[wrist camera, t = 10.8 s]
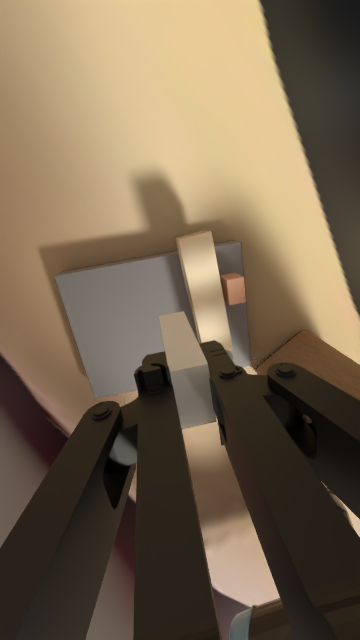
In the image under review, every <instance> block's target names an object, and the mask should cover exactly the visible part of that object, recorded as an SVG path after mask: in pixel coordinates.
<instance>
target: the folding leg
mask: <svg viewBox="0 0 360 640" xmlns="http://www.w3.org/2000/svg"><path fill="white" fill-rule="evenodd" d="M175 242H176V246H177V251H178V255H179V259H180V263H181V268H182V272H183V276H184V281H185V285H186V289H187V294H188V298H189V302H190V307H191V311H192V315H193V320H194V324H195V328H196V332H197V337H198V341H199V343H203V342H208V341H213V340H215V341H217V342H219V343H221V344H222V346H223V347H224V349H225V350H226V352H227V353H228V355H229V356H230V358H231V360H232V361H233V355H232V353H231V352H230V351H231V350H233V347H232V341H231V336H230V330H229V325H228V319H227V314H226V308H225V303H224V298H223V292H222V287H221V281H220V276H219V270H218V265H217V259H216V254H215V248H214V243H213V238H212V232H211V231H207V230H203V231H199V232H195V233H191V234H187V235H183V236H179V237H175Z"/></svg>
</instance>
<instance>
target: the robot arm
mask: <svg viewBox="0 0 360 640" xmlns="http://www.w3.org/2000/svg"><path fill="white" fill-rule="evenodd" d="M159 319H160V324H161V330H162V336H163V342H164V347H165V351H164V352H159V353H154V354H149V355H146V356H145V357H144V359H143V360H142V366H140V367H139V368H137V369H136V370H135V372H134V378H135V382H136V385H137V389H138V397H137V398H136V399H135V400H134V401H132V402H131V403H129V404H127V405H124V406H122V407H120V406H119V404H118V403H116V402H114V401H106V402H101V403H99V404H96V405H94V406H93V407H91V408H90V409H88V410H87V412H86V413H85V414H84V415H83V417H82V418H81V420H80V422H79V423H78V425H77V426H76V428H75V430H74V431H73V433H72V434H71V436H70V438H69V439H68V441H67V443H66V444H65V446H64V447H63V449H62V450H61V452H60V454H59V455H58V457H57V459H56V460H55V462H54V463H53V465H52V466H51V468H50V470H49V471H48V473H47V474H46V476H45V478H44V479H43V481H42V482H41V484H40V486H39V487H38V489H37V490H36V492H35V494H34V495H33V497H32V499H31V500H30V502H29V503H28V505H27V506H26V508H25V510H24V511H23V513H22V514H21V516H20V518H19V519H18V521H17V523H16V524H15V526H14V527H13V529H12V530H11V532H10V533H9V535H8V537H7V538H6V540H5V541H4V543H3V545H2V547H1V548H0V640H85V639H86V635H87V631H88V628H89V625H90V621H91V618H92V615H93V611H94V608H95V604H96V601H97V597H98V594H99V591H100V587H101V584H102V581H103V577H104V574H105V571H106V567H107V564H108V560H109V557H110V554H111V550H112V547H113V543H114V540H115V537H116V533H117V530H118V527H119V523H120V520H121V516H122V513H123V509H124V506H125V503H126V499H127V496H128V493H129V489H130V486H131V482H132V479H133V476H134V472H135V469H136V462H137V490H136V539H135V540H136V541H135V544H136V545H135V590H134V638H133V640H222V636H221V631H220V626H219V621H218V616H217V610H216V605H215V600H214V595H213V590H212V584H211V579H210V574H209V569H208V563H207V558H206V553H205V548H204V543H203V537H202V532H201V527H200V522H199V517H198V511H197V506H196V501H195V496H194V491H193V486H192V480H191V475H190V470H189V465H188V460H187V454H186V449H185V444H184V439H183V434H182V429H185V428H190V427H194V426H199V425H203V424H207V423H212V422H216V416H217V419H218V425H219V432H220V439H221V445H225V447H226V450H227V453H228V456H229V458H230V461H231V464H232V467H233V469H234V472H235V475H236V478H237V480H238V483H239V486H240V489H241V491H242V494H243V497H244V500H245V502H246V505H247V508H248V511H249V513H250V516H251V519H252V522H253V524H254V527H255V530H256V533H257V535H258V538H259V541H260V544H261V546H262V549H263V552H264V555H265V557H266V560H267V563H268V566H269V568H270V571H271V574H272V577H273V579H274V582H275V585H276V588H277V590H278V593H279V596H280V598H278V599H276V600H273V601H270V602H267V603H264V604H261V605H259V606H257V605H253V606H252V607H251V608H250V609H248V610H246V611H243V612H241V613H238V614H237V615H236V616H235V617H234V618H233V620H232V623H231V626H230V640H360V537H359V536H358V535H357V533H356V532H355V530H354V528H353V525H352V522H351V520H350V517H349V514H348V512H347V510H346V508H345V507H344V505H343V504H342V502H343V503H344V504H345V505H346V506H347V507H348V508H349V509H350V510H351V511H352V512H353V513H354V514H355V515H356V516H357V517H358V518H359V519H360V400H358V399H357V398H355V397H353V396H351V395H350V394H348V393H346V392H344V391H343V390H341V389H339V388H337V387H336V386H334V385H332V384H330V383H329V382H327V381H325V380H323V379H322V378H320V377H318V376H316V375H315V374H313V373H311V372H309V371H308V370H306V369H304V368H302V367H301V366H299V365H296V364H293V363H287V362H284V363H283V362H282V363H277V364H273V365H272V366H270V367H269V368H268V369H267V375H250V374H247V373H246V371H245V370H244V369H243V368H242V367H240V366H237V365H235V364H234V363H233V361H232V360H231V358H230V356H229V355H228V353H227V352H226V350H225V349H224V347H223V346H222V344H221V343H219V342H217V341H215V340H213V341H208V342H203V343H198V341H197V339H196V337H195V335H194V333H193V330H192V328H191V326H190V324H189V322H188V320H187V317H186V315H185V313H184V311H182V312H177V313H172V314H167V315H162V316H159ZM215 414H216V415H215ZM306 416H307V417H308V418H307V417H306ZM320 480H321V481H322V482H323V483H324V484H325V485H326V486H327V487H328V488H329V489H330V490H331V491H332V492H333V493H334V494H335V495H334V494H333V493H330V492H328V491H327V489H326V488H325V486H324V485H323V483H322V482H321V481H320ZM339 499H340V500H341V501H342V502H341V501H340V500H339Z"/></svg>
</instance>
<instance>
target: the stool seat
mask: <svg viewBox="0 0 360 640" xmlns="http://www.w3.org/2000/svg"><path fill="white" fill-rule="evenodd" d="M214 248H215V254H216V259H217V265H218V270H219V276H220V281H221V287H222V292H223V298H224V303H225V308H226V314H227V319H228V325H229V330H230V336H231V341H232V347H233V350H231V351H230V352H231V353H232V355H233V363H234V364H235V365H237V366H240V367H246V366H251V360H250V347H249V335H248V323H247V311H246V297H245V285H244V274H243V262H242V249H241V242H239V241H234V240H232V241H227V242H221V243H216V244H214ZM54 277H55V280H56V283H57V286H58V289H59V292H60V295H61V298H62V301H63V304H64V307H65V310H66V313H67V316H68V319H69V322H70V325H71V328H72V331H73V334H74V337H75V340H76V343H77V346H78V349H79V352H80V356H81V359H82V362H83V365H84V368H85V371H86V374H87V377H88V380H89V383H90V386H91V389H92V392H93V395H94V398H95V399H97V398H102V397H106V396H111V395H116V394H120V393H125V392H130V391H134V390H138V389H137V385H136V382H135V378H134V372H135V370H136V369H137V368H139V367H140V366H142V360H143V359H144V357H145V356H146V355H149V354H154V353H159V352H164V351H165V347H164V342H163V336H162V330H161V324H160V319H159V316H162V315H167V314H172V313H177V312H182V311H184V313H185V315H186V317H187V320H188V322H189V324H190V326H191V328H192V330H193V333H194V335H195V337H196V339H197V341H198V337H197V332H196V328H195V324H194V320H193V315H192V311H191V307H190V302H189V298H188V294H187V289H186V285H185V281H184V276H183V272H182V268H181V263H180V259H179V255H178V251H172V252H167V253H161V254H156V255H151V256H145V257H140V258H134V259H129V260H123V261H118V262H113V263H107V264H102V265H96V266H91V267H85V268H80V269H74V270H69V271H64V272H61V273H59V274H57V275H56V276H54ZM198 343H199V341H198Z"/></svg>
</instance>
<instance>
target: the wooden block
mask: <svg viewBox="0 0 360 640" xmlns="http://www.w3.org/2000/svg"><path fill="white" fill-rule="evenodd" d="M282 362H283V363H284V362H287V363H293V364H296V365H299V366H301V367H302V368H304V369H306V370H308V371H309V372H311V373H313V374H315V375H316V376H318V377H320V378H322V379H323V380H325V381H327V382H329V383H330V384H332V385H334V386H336V387H337V388H339V389H341V390H343V391H344V392H346V393H348V394H350V395H351V396H353V397H355V398H357V399H358V400H360V365H359V364H357V363H356V362H354V361H353V360H351V359H350V358H348V357H347V356H345V355H344V354H342V353H341V352H339V351H338V350H336V349H335V348H333V347H332V346H330V345H329V344H327V343H326V342H324V341H323V340H321V339H319V338H318V337H316V336H315V335H313V334H312V333H310V332H308V331H305V330H303V331H301V332H299V333H298V334H297V335H296V336H294V337H293V338H292V339H291V340H290V341H288V342H287V343H286V344H285V345H284V346H282V347H281V348H280V349H279V350H278V351H276V352H275V353H274V354H273V355H272V356H270V357H269V358H268V359H267V360H266V361H264V362H263V363H262V364H261V365H260V366H258V368H257V370H256V371H257V374H258V375H267V369H268V368H269V367H270V366H272V365H273V364H277V363H282ZM306 417H307V416H306ZM307 418H308V417H307Z"/></svg>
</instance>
